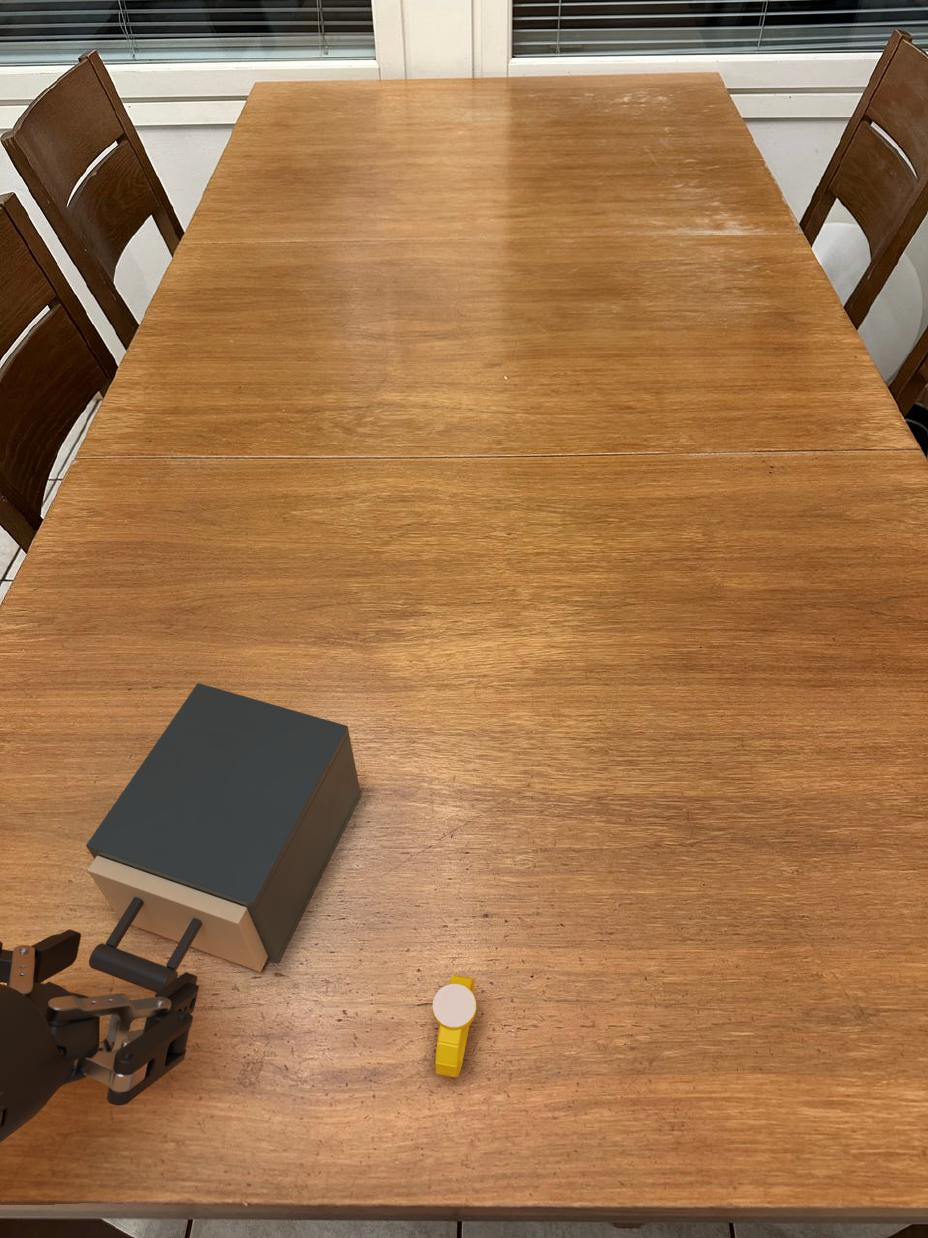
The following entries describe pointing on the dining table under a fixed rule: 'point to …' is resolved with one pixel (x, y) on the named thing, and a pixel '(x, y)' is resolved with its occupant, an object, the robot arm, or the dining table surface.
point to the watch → (453, 1023)
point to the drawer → (169, 924)
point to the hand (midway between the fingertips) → (131, 966)
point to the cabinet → (238, 806)
